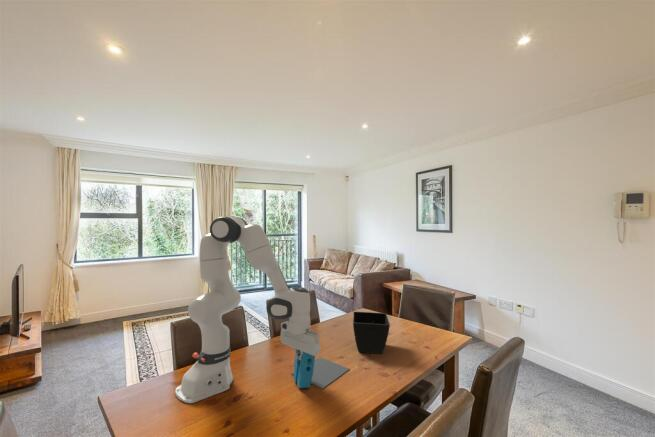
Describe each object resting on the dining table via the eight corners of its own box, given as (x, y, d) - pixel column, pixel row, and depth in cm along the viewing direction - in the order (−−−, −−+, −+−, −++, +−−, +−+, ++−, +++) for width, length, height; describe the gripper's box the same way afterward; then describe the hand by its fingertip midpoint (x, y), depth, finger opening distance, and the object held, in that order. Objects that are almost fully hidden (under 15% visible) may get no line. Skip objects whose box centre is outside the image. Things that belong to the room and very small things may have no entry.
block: (312, 389, 117) (317, 339, 118) (300, 390, 115) (306, 339, 116) (302, 375, 128) (307, 329, 129) (292, 376, 126) (297, 329, 127)
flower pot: (386, 341, 165) (386, 312, 165) (390, 357, 146) (390, 324, 146) (353, 340, 167) (353, 311, 167) (352, 355, 148) (353, 322, 148)
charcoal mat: (322, 389, 118) (322, 388, 118) (291, 374, 129) (291, 373, 129) (349, 369, 134) (349, 368, 134) (320, 357, 145) (320, 357, 145)
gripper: (323, 330, 116) (323, 364, 116) (288, 319, 129) (288, 349, 129) (313, 334, 111) (313, 370, 111) (278, 322, 124) (278, 354, 124)
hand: (299, 359), depth 120 cm, fingers closed
